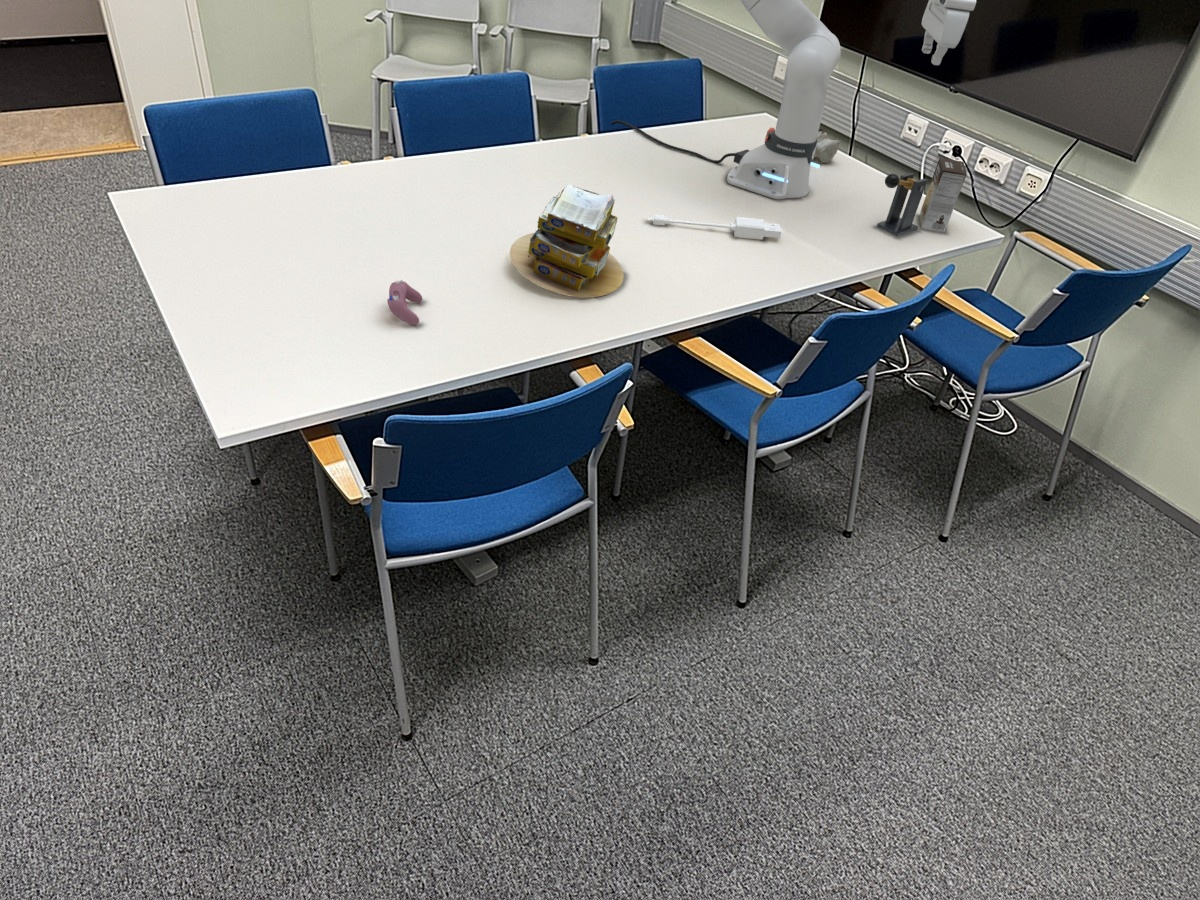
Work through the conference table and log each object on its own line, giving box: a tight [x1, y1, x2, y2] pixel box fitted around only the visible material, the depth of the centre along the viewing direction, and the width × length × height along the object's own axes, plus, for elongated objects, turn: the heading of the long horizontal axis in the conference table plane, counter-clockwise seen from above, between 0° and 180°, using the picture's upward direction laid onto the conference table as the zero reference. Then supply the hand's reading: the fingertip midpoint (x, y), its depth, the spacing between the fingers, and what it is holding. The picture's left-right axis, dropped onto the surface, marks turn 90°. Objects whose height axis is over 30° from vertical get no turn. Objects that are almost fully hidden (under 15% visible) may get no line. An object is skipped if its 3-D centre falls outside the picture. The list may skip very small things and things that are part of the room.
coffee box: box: [918, 157, 968, 233], centre depth 226 cm, size 9×6×16 cm
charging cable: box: [646, 214, 783, 241], centre depth 213 cm, size 5×32×3 cm, turn 86°
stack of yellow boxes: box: [509, 183, 625, 298], centre depth 184 cm, size 25×25×17 cm
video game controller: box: [387, 279, 423, 326], centre depth 168 cm, size 10×5×7 cm, turn 5°
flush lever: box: [884, 173, 918, 191], centre depth 216 cm, size 13×3×3 cm, turn 131°
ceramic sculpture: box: [814, 128, 841, 164], centre depth 260 cm, size 11×9×15 cm
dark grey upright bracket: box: [876, 172, 928, 237], centre depth 222 cm, size 9×6×14 cm
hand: (930, 58), depth 200 cm, fingers open, 8 cm apart
